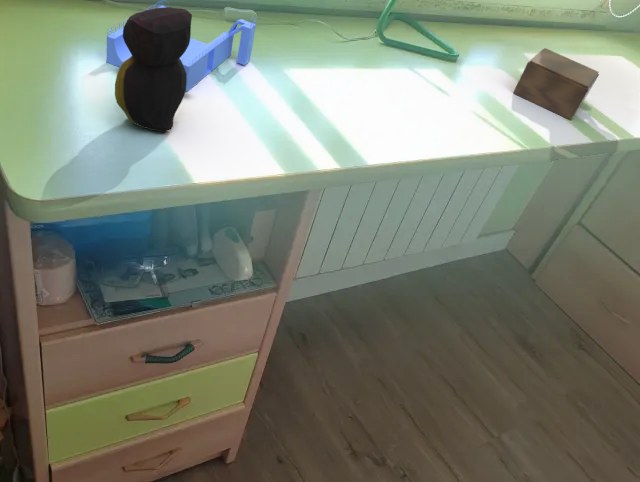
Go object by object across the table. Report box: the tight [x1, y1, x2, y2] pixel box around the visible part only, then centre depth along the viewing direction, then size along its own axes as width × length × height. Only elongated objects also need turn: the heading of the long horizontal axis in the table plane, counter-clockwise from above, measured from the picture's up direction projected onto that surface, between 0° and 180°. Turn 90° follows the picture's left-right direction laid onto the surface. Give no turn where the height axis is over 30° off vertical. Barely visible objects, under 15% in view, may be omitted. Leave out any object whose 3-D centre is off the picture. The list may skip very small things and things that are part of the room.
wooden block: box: [512, 47, 600, 121], centre depth 126 cm, size 13×13×7 cm
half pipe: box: [106, 0, 257, 93], centre depth 95 cm, size 18×16×7 cm
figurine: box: [114, 6, 193, 133], centre depth 77 cm, size 10×7×15 cm
